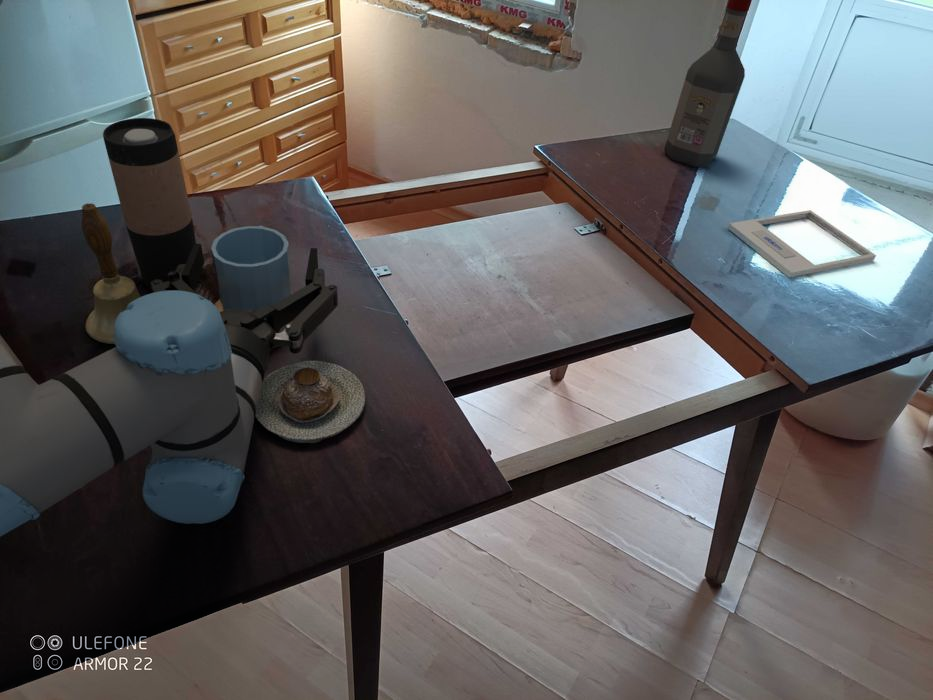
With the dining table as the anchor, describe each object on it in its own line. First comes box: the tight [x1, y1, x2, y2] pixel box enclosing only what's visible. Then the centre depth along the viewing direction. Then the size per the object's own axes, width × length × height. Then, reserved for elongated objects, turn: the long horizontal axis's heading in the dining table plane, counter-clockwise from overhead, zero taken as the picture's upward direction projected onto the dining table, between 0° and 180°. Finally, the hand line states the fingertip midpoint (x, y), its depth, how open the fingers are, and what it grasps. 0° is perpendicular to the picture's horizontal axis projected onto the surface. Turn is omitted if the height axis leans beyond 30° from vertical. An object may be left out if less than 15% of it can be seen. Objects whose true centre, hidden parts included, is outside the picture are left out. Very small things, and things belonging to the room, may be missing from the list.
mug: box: [210, 224, 294, 330], centre depth 83 cm, size 11×8×10 cm
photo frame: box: [727, 209, 877, 279], centre depth 111 cm, size 15×1×18 cm
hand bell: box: [81, 202, 142, 345], centre depth 77 cm, size 8×8×16 cm
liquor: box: [663, 0, 753, 168], centre depth 125 cm, size 9×9×30 cm
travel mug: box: [102, 117, 201, 290], centre depth 84 cm, size 8×8×20 cm
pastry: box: [255, 360, 366, 444], centre depth 74 cm, size 12×12×5 cm
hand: (257, 255), depth 83 cm, fingers open, 13 cm apart
